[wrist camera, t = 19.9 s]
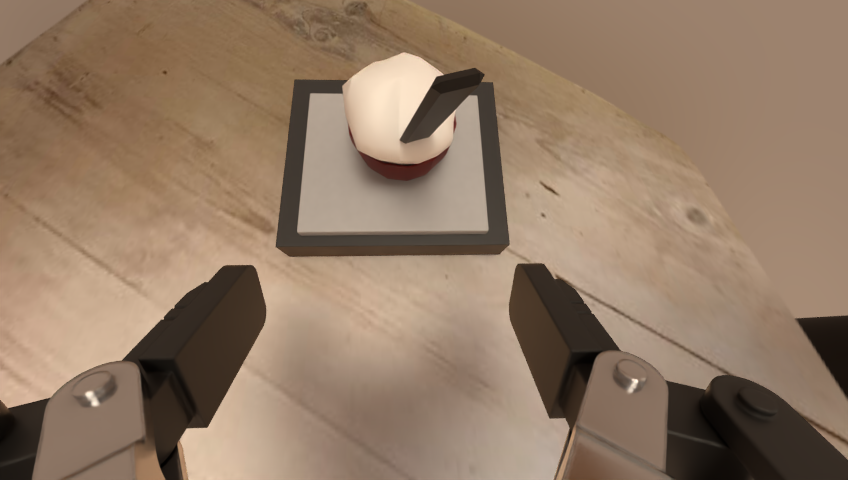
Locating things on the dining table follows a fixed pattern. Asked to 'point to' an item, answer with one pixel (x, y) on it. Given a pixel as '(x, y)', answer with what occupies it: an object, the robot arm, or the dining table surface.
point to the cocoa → (405, 113)
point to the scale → (389, 186)
